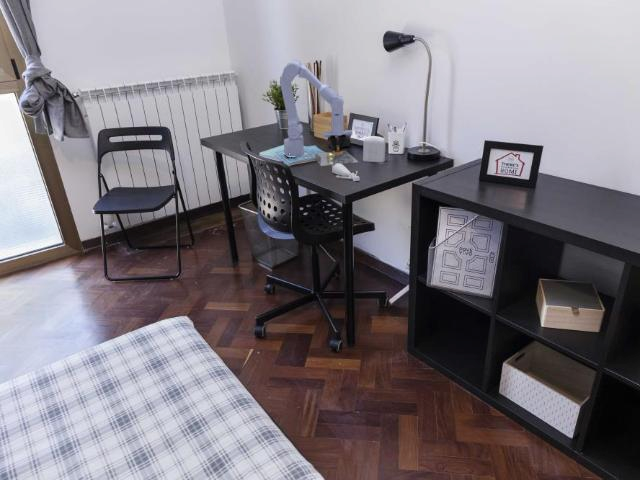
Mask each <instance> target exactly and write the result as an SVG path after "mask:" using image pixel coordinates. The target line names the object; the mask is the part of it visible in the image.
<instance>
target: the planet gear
mask: <svg viewBox="0 0 640 480" xmlns="http://www.w3.org/2000/svg"><path fill="white" fill-rule="evenodd" d="M343 151H344V150H342V151H340V146H339V145H337V146H336V151H334V150H332V152H334V153H335V155H342V154H343Z"/></svg>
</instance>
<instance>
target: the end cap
mask: <svg viewBox="0 0 640 480" xmlns="http://www.w3.org/2000/svg"><path fill="white" fill-rule="evenodd" d="M345 136H346V140H345V141H344V144H343V147H342V149H344V148H348V147H350V146H351V139H350V135H345ZM335 137H336V139H337V140H336V146H337V145H339V136H335ZM326 141H327V147H328V148H330V150H332V151H334V149H333V145H332V142H331V140H330V138H329V137H327V140H326Z"/></svg>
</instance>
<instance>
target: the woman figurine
mask: <svg viewBox="0 0 640 480" xmlns="http://www.w3.org/2000/svg"><path fill="white" fill-rule="evenodd" d="M331 171H332V174H335V175H336V176H335V177H336V178H341V179H348V180H352V181H353V182H355V181H358V182H360V179H361V178H360V176H359V175H357V174H358V170H355V172H356V173H354V172H352V173H351V171H350V170H349V169H348V168H347V167H346V166H345V165H344V164H341V163H338V164H335V165H331Z"/></svg>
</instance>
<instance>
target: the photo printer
mask: <svg viewBox="0 0 640 480" xmlns="http://www.w3.org/2000/svg"><path fill="white" fill-rule="evenodd" d="M362 147H363V150H362V161H363V162H369V163H370V162H371V163H376V164H379V165H381V164H382V165H383V164H385V160H386V159H385V158H386V139H385V138H384V137H381V136H376V135H372V136H371V135H370V136H369V135H368V136H365V137H364V139H363V146H362Z"/></svg>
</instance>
